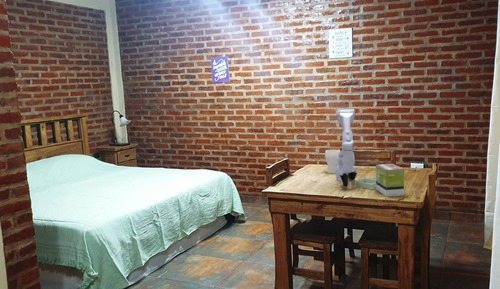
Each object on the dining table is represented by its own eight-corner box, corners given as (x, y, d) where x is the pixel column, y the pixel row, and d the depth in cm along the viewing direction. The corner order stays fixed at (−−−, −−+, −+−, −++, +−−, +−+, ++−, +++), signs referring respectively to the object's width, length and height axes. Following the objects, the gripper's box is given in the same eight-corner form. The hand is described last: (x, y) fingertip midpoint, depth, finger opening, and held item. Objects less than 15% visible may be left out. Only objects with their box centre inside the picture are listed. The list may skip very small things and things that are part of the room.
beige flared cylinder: (343, 171, 293) (343, 149, 291) (337, 174, 285) (337, 152, 283) (328, 170, 299) (328, 149, 297) (322, 173, 290) (322, 151, 288)
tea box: (375, 190, 239) (375, 164, 238) (392, 189, 240) (392, 163, 238) (386, 197, 225) (386, 169, 223) (404, 195, 225) (404, 168, 224)
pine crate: (340, 187, 248) (340, 180, 247) (346, 186, 251) (346, 178, 250) (350, 189, 243) (350, 181, 242) (356, 188, 246) (356, 180, 245)
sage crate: (353, 186, 251) (353, 181, 250) (364, 182, 258) (364, 178, 257) (372, 189, 241) (372, 184, 240) (384, 186, 248) (384, 181, 247)
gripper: (345, 164, 237) (346, 188, 239) (361, 161, 246) (361, 184, 248) (335, 163, 243) (336, 187, 244) (351, 159, 252) (351, 182, 254)
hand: (348, 185), depth 247 cm, fingers closed on pine crate, 5 cm apart
